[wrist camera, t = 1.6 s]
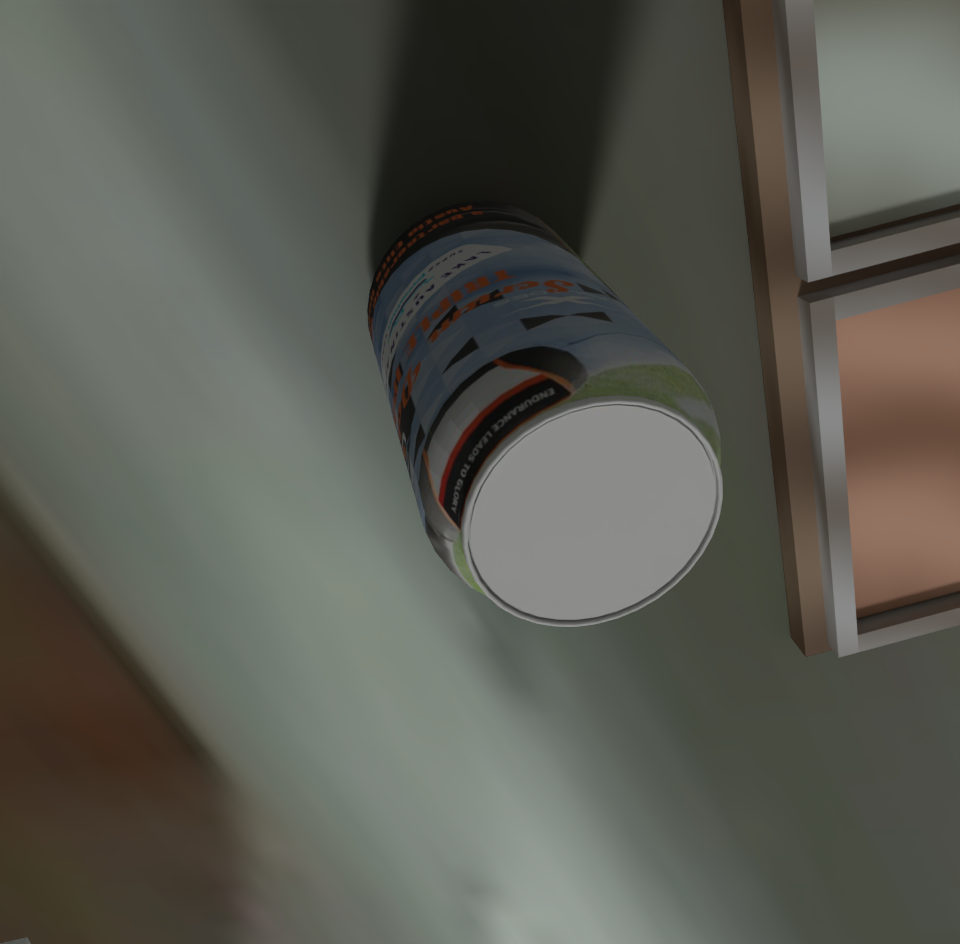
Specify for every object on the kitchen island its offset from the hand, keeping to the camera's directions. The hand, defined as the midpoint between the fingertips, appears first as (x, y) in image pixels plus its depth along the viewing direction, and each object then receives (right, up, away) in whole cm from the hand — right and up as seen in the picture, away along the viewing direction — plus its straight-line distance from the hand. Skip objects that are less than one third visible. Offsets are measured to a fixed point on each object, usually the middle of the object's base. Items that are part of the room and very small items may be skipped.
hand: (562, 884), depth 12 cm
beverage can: (-1, +10, +15) cm, 18 cm away
